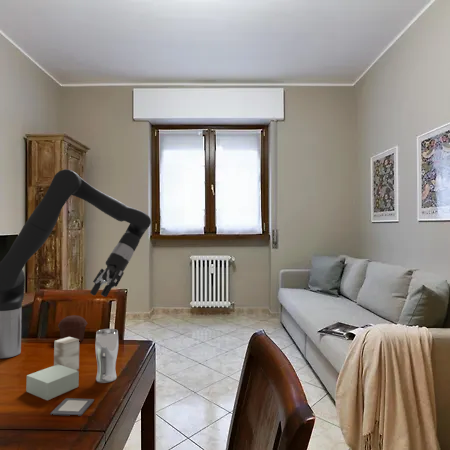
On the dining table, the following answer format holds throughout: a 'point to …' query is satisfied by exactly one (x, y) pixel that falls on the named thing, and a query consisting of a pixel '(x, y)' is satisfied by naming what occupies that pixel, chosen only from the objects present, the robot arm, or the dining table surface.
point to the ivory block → (67, 352)
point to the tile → (72, 407)
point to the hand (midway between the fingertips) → (97, 295)
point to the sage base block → (52, 381)
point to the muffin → (72, 327)
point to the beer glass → (106, 354)
